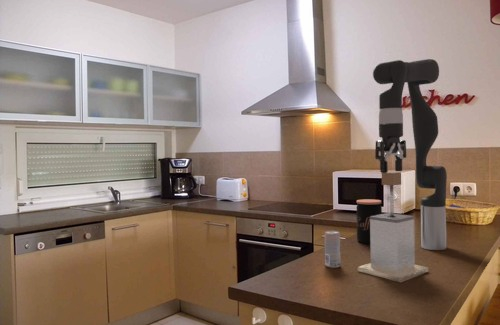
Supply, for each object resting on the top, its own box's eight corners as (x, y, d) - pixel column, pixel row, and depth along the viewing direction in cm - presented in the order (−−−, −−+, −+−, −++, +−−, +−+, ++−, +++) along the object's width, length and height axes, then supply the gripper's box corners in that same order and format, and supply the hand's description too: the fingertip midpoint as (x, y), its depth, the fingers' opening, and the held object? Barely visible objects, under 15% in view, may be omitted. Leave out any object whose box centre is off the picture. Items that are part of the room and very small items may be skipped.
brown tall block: (388, 233, 144) (388, 171, 143) (408, 236, 138) (407, 172, 137) (376, 236, 139) (375, 172, 139) (395, 239, 134) (394, 173, 133)
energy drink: (338, 263, 150) (337, 230, 150) (342, 267, 145) (341, 233, 145) (323, 264, 150) (323, 230, 150) (326, 268, 145) (326, 233, 144)
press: (385, 262, 150) (384, 211, 150) (428, 271, 138) (427, 216, 137) (357, 271, 140) (357, 216, 140) (401, 282, 128) (400, 222, 127)
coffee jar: (352, 242, 183) (351, 201, 183) (364, 237, 191) (363, 198, 191) (375, 245, 176) (374, 202, 175) (386, 241, 184) (385, 200, 183)
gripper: (392, 123, 145) (393, 170, 145) (368, 123, 136) (368, 172, 137) (413, 122, 139) (413, 171, 140) (388, 121, 130) (389, 173, 131)
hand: (391, 171), depth 138 cm, fingers open, 8 cm apart
